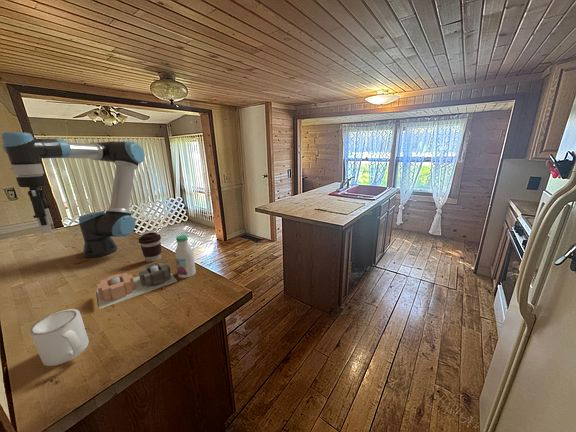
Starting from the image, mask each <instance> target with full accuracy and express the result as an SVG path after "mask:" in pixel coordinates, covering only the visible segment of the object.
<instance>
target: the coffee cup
mask: <svg viewBox="0 0 576 432" xmlns="http://www.w3.org/2000/svg"><path fill="white" fill-rule="evenodd" d="M161 239H162V236H161V235H160V234H158V233H157V232H155V231H154V232H152V231H151V232H146V233H143V234H142V235H141V237H139V238H138V239H137V240H138V243H139V244H140V248H141V250H142V251H141V252H142V254H143V257H144V261H145V263H151V262H156V261H158V260H160V259H162V245H161V244H162V243H161Z"/></svg>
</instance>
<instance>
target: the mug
mask: <svg viewBox="0 0 576 432" xmlns="http://www.w3.org/2000/svg"><path fill="white" fill-rule="evenodd" d="M83 321H84V320H83V318H82V315H81V311H80V310H78V309H75V308H67V309H63V310H58V311H56V312H53V313H51V314H47V315H46V316H45V317H43V318H41V319H39V320H38V321H37V322H35V323H34V324H33V325H32V327H30V331H29V333H30V336H31V338H32V340H33V344H34V346H35V348H36V350H37V353H38V356H39V358H40V360H41V363H42V364H43V366H47V367H55V366H59V365H61V364H65V363H67V362H69V361H71V360H73V359H74V358H76V357H78V356H79V355H81V354H82V353H84V351H85V350H86V348H87V347H88V345H89V342H90V341H89V337H88V334H87V331H86V328H85V324H84V322H83Z"/></svg>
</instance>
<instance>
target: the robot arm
mask: <svg viewBox="0 0 576 432" xmlns="http://www.w3.org/2000/svg"><path fill="white" fill-rule="evenodd" d="M1 139H2V148H3V151H4V153H6V154H7V157H8V160H9V162H10V165H11V167H9V169H10V171H13V174H14V175H15V176H16V178H15V179H16V182H17V185H18V187H19V188H28V189H29V190H28V191H27V194H28V196H29V199H30V201H31V205H32V209H33V212H34V215H32V217H33V219H36V220H37V223H38V226H39V228H40V231H41V234H42V235H44V234H47V233H53V230H52V228H51V225H53V224H54V221H53V217H52V215H51V212H50V209H51V205H48V202H47V200H46V196H45V191H44V189H42V187H43V186H47V185H48V180H47V177H46V176H45V175H44V174H45V171H44V168H43V165H42V161H41V159H91V160H93V161H99V162H100V161H101V162H109V163H113V164H114V165H115V171H114V172H115V173H114V179H113V185H112V186H113V187H112V192H111V197H110V198H111V199H110V205H109V208H107V210H105V211H103V210H102V211H95V212H90V213H85V214H82V215H80V216H79V217H78V224H79V227H80V231H81V234H82V237H83V238H82V239H83V242H84V245H83V250H82V253H83V257H85V258H89V259H90V258H91V259H92V258H93V259H94V258H100V257H101V258H102V257H104V256H107V255H110V254H113V253H114V252H116V251H117V250H118V246H117V243H116V242H115V240H114V239H113V238H112V237H114V238H121V237H122V238H125V237H127V236H129V235H130V234H132V233H133V232H134V231H135V228H136V221H135V218H134V217H133V216H132V212H131V211H130V205H131V198H132V191H133V185H134V177H135V170H136V169H138V168H139V164H141V163H143V162H144V161H145V158H146V156H145V152H144V149H143V147H142V146H141V145H140V144H139V143H138V142H136V141H130V140H129V141H105V142H104V141H102V142H99V141H98V142H95V141H94V142H89V143H83V142H82V143H80V142H67V140H65V139H61V138H34V137H33V135H32V133H30V132H18V131H17V132H14V131H13V132H11V131H5V132H2V133H1Z"/></svg>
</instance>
